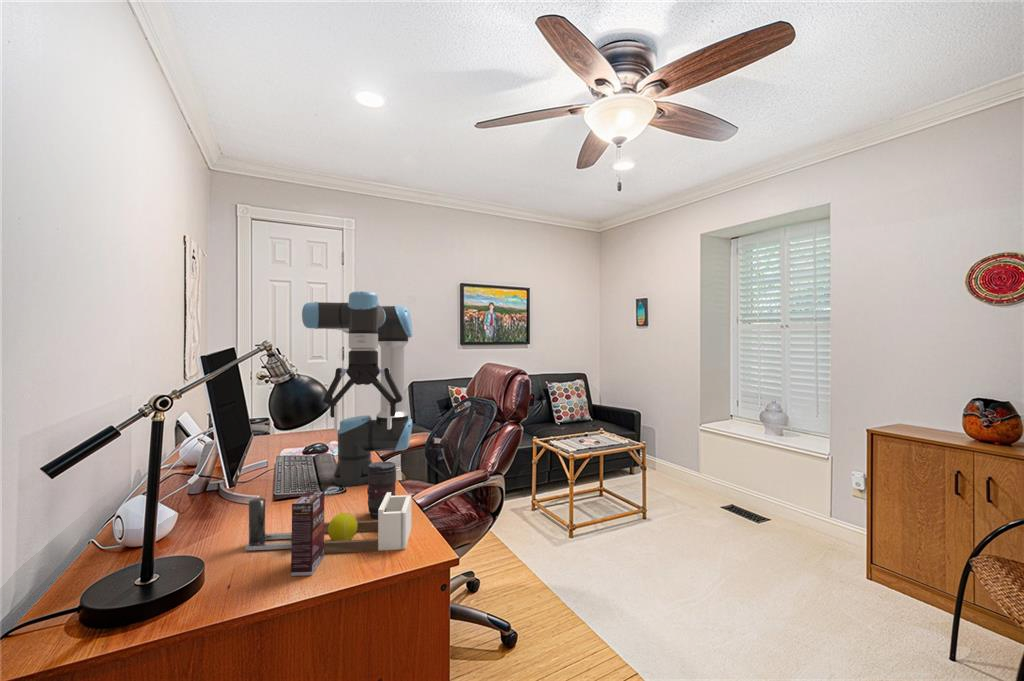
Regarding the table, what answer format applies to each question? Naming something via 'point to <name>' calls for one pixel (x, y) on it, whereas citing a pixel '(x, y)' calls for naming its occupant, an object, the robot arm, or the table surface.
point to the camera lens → (380, 484)
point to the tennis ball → (342, 527)
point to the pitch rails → (353, 544)
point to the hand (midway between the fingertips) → (363, 429)
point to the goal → (394, 522)
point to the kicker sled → (262, 529)
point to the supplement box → (307, 533)
